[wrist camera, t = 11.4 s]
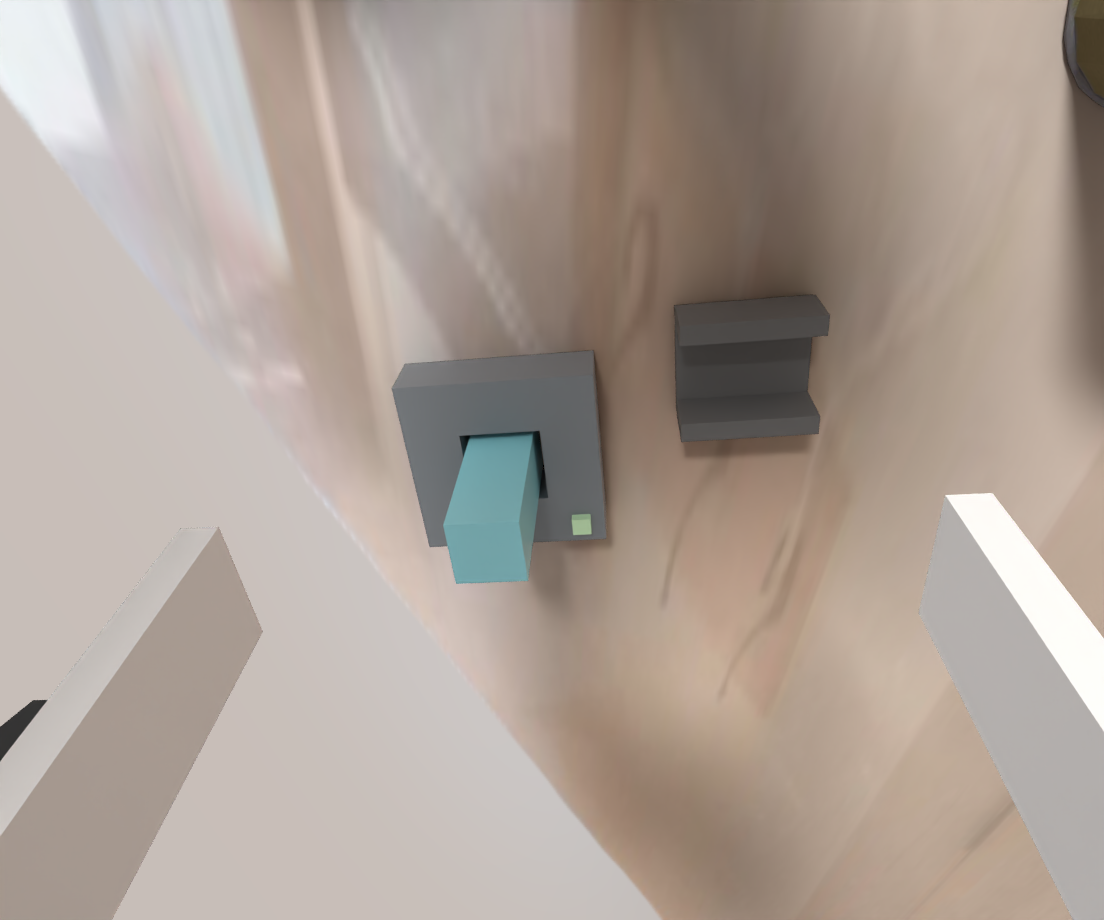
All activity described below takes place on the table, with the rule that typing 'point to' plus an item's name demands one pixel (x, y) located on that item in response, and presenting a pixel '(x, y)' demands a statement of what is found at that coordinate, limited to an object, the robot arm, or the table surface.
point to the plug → (495, 508)
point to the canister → (1086, 46)
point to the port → (505, 407)
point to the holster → (746, 367)
